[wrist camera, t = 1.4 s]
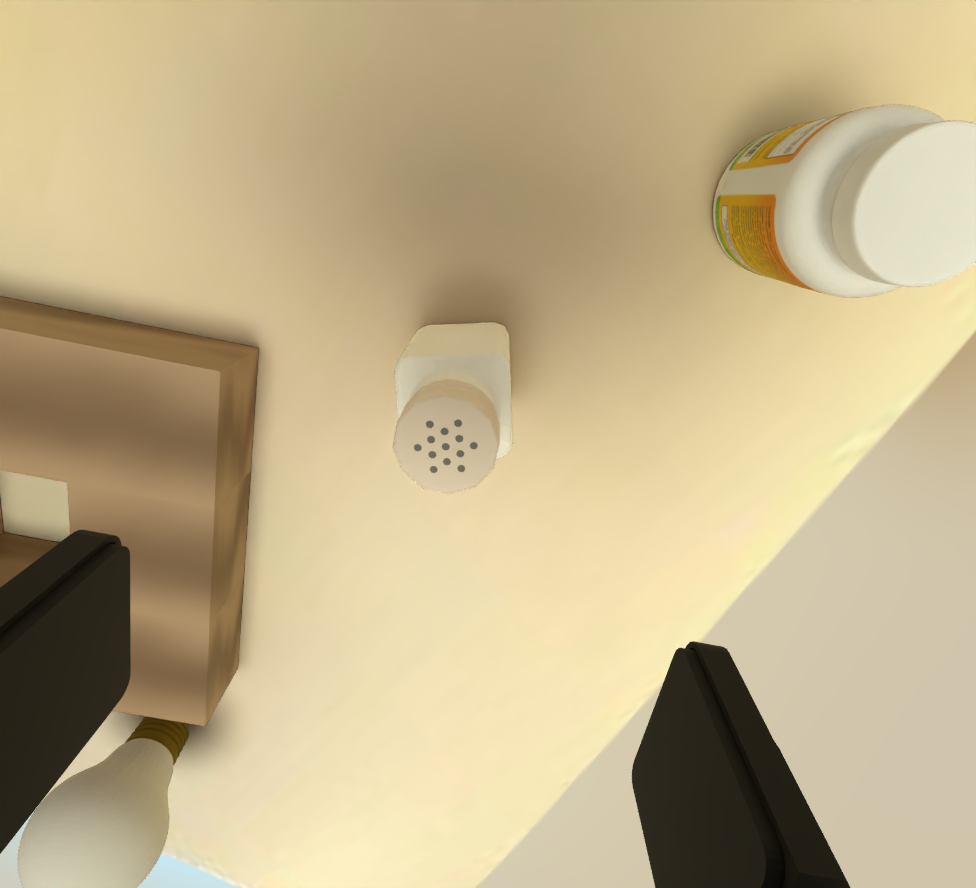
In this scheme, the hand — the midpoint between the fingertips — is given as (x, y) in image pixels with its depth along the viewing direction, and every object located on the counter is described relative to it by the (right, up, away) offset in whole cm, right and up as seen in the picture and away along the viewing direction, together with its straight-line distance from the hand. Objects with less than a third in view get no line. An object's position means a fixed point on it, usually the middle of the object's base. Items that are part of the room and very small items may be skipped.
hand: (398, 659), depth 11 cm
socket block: (-19, +1, +20) cm, 27 cm away
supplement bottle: (+13, +13, +14) cm, 23 cm away
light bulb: (-16, -12, +25) cm, 32 cm away
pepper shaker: (0, +7, +17) cm, 19 cm away
